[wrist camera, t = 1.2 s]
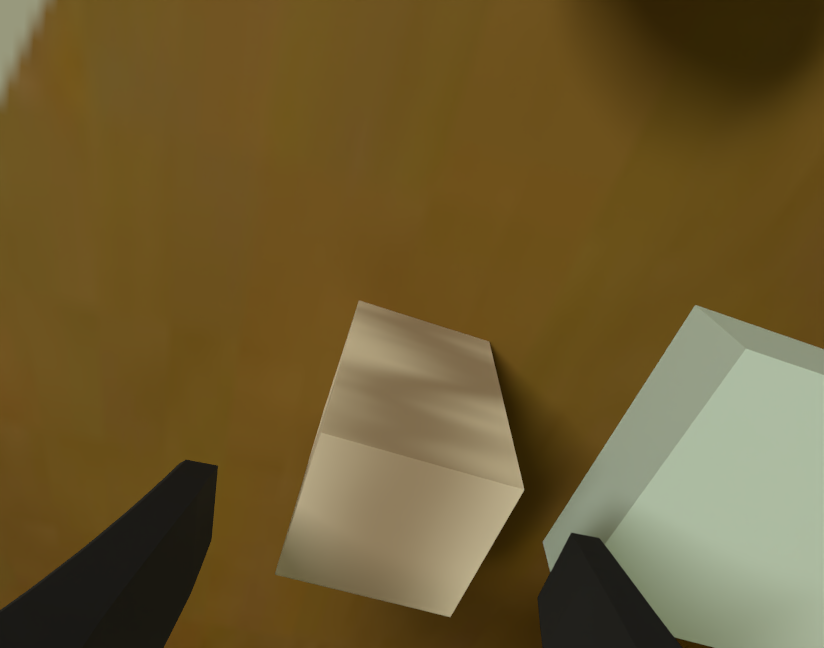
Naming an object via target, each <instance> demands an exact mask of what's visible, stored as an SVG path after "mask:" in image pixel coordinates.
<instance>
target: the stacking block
mask: <svg viewBox="0 0 824 648" xmlns="http://www.w3.org/2000/svg"><path fill="white" fill-rule="evenodd" d="M571 533H576V534H581V535H587V536H592V537H597V538H600V539H601V541H602V542H603V543H604V544H605V546H606V547H607V548H608V550H609V551H610V552H611V554H612V555H613V556H614V558H615V559H616V560H617V562H618V563H619V564H620V566H621V567H622V568H623V570H624V571H625V572H626V574H627V575H628V576H629V578H630V579H631V580H632V582H633V583H634V585H635V586H636V587H637V589H638V590H639V591H640V593H641V594H642V595H643V597H644V598H645V599H646V601H647V602H648V603H649V605H650V606H651V607H652V609H653V610H654V611H655V613H656V614H657V615H658V617H659V618H660V619H661V621H662V622H663V623H664V625H665V626H666V627H667V629H668V630H669V631H670V632H671V634H672V635H673V636H674V637H675V638H679V639H683V640H687V641H691V642H695V643H699V644H702V645H706V646H710V647H714V648H824V349H821V348H818V347H815V346H812V345H810V344H807V343H804V342H801V341H798V340H795V339H792V338H789V337H786V336H784V335H781V334H778V333H775V332H772V331H769V330H766V329H763V328H760V327H758V326H755V325H752V324H749V323H746V322H743V321H740V320H737V319H734V318H732V317H729V316H726V315H723V314H720V313H717V312H714V311H711V310H708V309H705V308H703V307H700V306H697V305H695V306H694V308H693V310H692V311H691V313H690V314H689V316H688V317H687V319H686V320H685V322H684V323H683V325H682V327H681V328H680V330H679V331H678V333H677V334H676V336H675V337H674V339H673V341H672V342H671V344H670V345H669V347H668V348H667V350H666V351H665V353H664V355H663V356H662V358H661V359H660V361H659V362H658V364H657V365H656V367H655V369H654V370H653V372H652V373H651V375H650V376H649V378H648V379H647V381H646V382H645V384H644V386H643V387H642V389H641V390H640V392H639V393H638V395H637V396H636V398H635V400H634V401H633V403H632V404H631V406H630V407H629V409H628V410H627V412H626V414H625V415H624V417H623V418H622V420H621V421H620V423H619V424H618V426H617V427H616V429H615V431H614V432H613V434H612V435H611V437H610V438H609V440H608V441H607V443H606V445H605V446H604V448H603V449H602V451H601V452H600V454H599V455H598V457H597V459H596V460H595V462H594V463H593V465H592V466H591V468H590V469H589V471H588V473H587V474H586V476H585V477H584V479H583V480H582V482H581V483H580V485H579V486H578V488H577V490H576V491H575V493H574V494H573V496H572V497H571V499H570V500H569V502H568V504H567V505H566V507H565V508H564V510H563V511H562V513H561V514H560V516H559V518H558V519H557V521H556V522H555V524H554V525H553V527H552V528H551V530H550V532H549V533H548V535H547V536H546V538H545V539H544V541H543V545H544V549H545V553H546V557H547V561H548V565H549V569H550V572H551V571H552V569H553V567H554V565H555V563H556V561H557V559H558V557H559V555H560V553H561V551H562V549H563V547H564V545H565V543H566V542H567V540H568V538H569V536H570V534H571Z"/></svg>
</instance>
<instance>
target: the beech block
mask: <svg viewBox="0 0 824 648" xmlns="http://www.w3.org/2000/svg"><path fill="white" fill-rule="evenodd" d="M523 491H524V486H523V482H522V478H521V473H520V469H519V465H518V461H517V456H516V452H515V448H514V444H513V440H512V435H511V431H510V427H509V423H508V419H507V414H506V410H505V406H504V402H503V397H502V393H501V389H500V385H499V381H498V376H497V372H496V368H495V364H494V360H493V355H492V351H491V347H490V343H489V341H485V340H482V339H479V338H476V337H473V336H470V335H466V334H463V333H460V332H457V331H454V330H451V329H448V328H444V327H441V326H438V325H435V324H432V323H429V322H425V321H422V320H419V319H416V318H413V317H410V316H406V315H403V314H400V313H397V312H394V311H391V310H387V309H384V308H381V307H378V306H375V305H372V304H369V303H365V302H362V301H359V302H358V305H357V308H356V312H355V315H354V318H353V321H352V324H351V327H350V330H349V333H348V337H347V340H346V343H345V346H344V349H343V352H342V355H341V358H340V361H339V365H338V368H337V371H336V374H335V377H334V380H333V383H332V386H331V390H330V393H329V396H328V399H327V402H326V405H325V408H324V412H323V415H322V418H321V422H320V425H319V428H318V432H317V435H316V438H315V442H314V445H313V448H312V452H311V455H310V458H309V462H308V465H307V468H306V472H305V475H304V478H303V482H302V485H301V489H300V492H299V495H298V499H297V502H296V505H295V509H294V512H293V515H292V519H291V522H290V525H289V529H288V532H287V535H286V539H285V542H284V545H283V549H282V552H281V555H280V559H279V562H278V565H277V569H276V572H275V574H276V575H280V576H284V577H288V578H292V579H296V580H300V581H304V582H308V583H312V584H317V585H321V586H325V587H329V588H333V589H337V590H341V591H345V592H349V593H353V594H358V595H362V596H366V597H370V598H374V599H378V600H382V601H386V602H390V603H394V604H399V605H403V606H407V607H411V608H415V609H419V610H423V611H427V612H431V613H436V614H440V615H444V616H448V617H451V615H452V613H453V612H454V610H455V608H456V606H457V605H458V603H459V601H460V600H461V598H462V596H463V594H464V593H465V591H466V589H467V588H468V586H469V584H470V582H471V581H472V579H473V577H474V576H475V574H476V572H477V570H478V569H479V567H480V565H481V563H482V562H483V560H484V558H485V557H486V555H487V553H488V551H489V550H490V548H491V546H492V545H493V543H494V541H495V539H496V538H497V536H498V534H499V533H500V531H501V529H502V527H503V526H504V524H505V522H506V521H507V519H508V517H509V515H510V514H511V512H512V510H513V508H514V507H515V505H516V503H517V502H518V500H519V498H520V496H521V495H522V493H523Z"/></svg>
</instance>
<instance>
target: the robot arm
mask: <svg viewBox="0 0 824 648" xmlns="http://www.w3.org/2000/svg"><path fill="white" fill-rule="evenodd" d="M217 469H218V466H216V465H211V464H206V463H201V462H195V461H190V460H185V461H183V462H181V463H180V464H179V465H178V466H176V467H175V468H174V469H173V470H172V471H171V472H170V473H169V474H168V475H167V476H166V477H165V478H164V479H163V480H162V481H161V482H159V483H158V484H157V485H156V486H155V487H154V488H153V489H152V490H151V491H150V492H149V493H147V494H146V495H145V496H144V497H143V498H142V499H141V500H140V501H138V502H137V503H136V504H135V505H134V506H133V507H132V508H130V509H129V510H128V511H127V512H126V513H125V514H124V515H122V516H121V517H120V518H119V519H118V520H116V521H115V522H114V523H113V524H112V525H110V526H109V527H108V528H107V529H106V530H104V531H103V532H102V533H101V534H100V535H98V536H97V537H96V538H95V539H94V540H92V541H91V542H90V543H89V544H88V545H86V546H85V547H84V548H83V549H81V550H80V551H79V552H78V553H76V554H75V555H74V556H72V557H71V558H70V559H68V560H67V561H66V562H65V563H63V564H62V565H61V566H59V567H58V568H57V569H55V570H54V571H53V572H52V573H50V574H49V575H48V576H46V577H45V578H44V579H42V580H41V581H40V582H38V583H37V584H36V585H35V586H33V587H32V588H30V589H29V590H28V591H26V592H25V593H24V594H22V595H21V596H19V597H18V598H17V599H15V600H14V601H13V602H11V603H10V604H8V605H7V606H6V607H4V608H3V609H1V610H0V648H164V646H165V644H166V642H167V640H168V638H169V636H170V634H171V632H172V630H173V628H174V626H175V624H176V622H177V620H178V618H179V616H180V614H181V612H182V610H183V608H184V606H185V604H186V602H187V600H188V598H189V596H190V594H191V591H192V589H193V586H194V584H195V581H196V579H197V576H198V574H199V571H200V568H201V566H202V563H203V561H204V558H205V555H206V553H207V550H208V547H209V545H210V542H211V538H212V527H213V515H214V504H215V492H216V481H217ZM538 607H539V618H540V629H541V637H542V646H543V648H682V647H681V645H680V644H679V643H678V642H677V640H676V639H675V638H674V636H673V635H672V634H671V632H670V631H669V630H668V629H667V627H666V626H665V625H664V623H663V622H662V621H661V619H660V618H659V617H658V615H657V614H656V613H655V611H654V610H653V609H652V607H651V606H650V605H649V603H648V602H647V601H646V599H645V598H644V597H643V595H642V594H641V593H640V591H639V590H638V589H637V587H636V586H635V585H634V583H633V582H632V580H631V579H630V578H629V576H628V575H627V574H626V572H625V571H624V570H623V568H622V567H621V566H620V564H619V563H618V562H617V560H616V559H615V558H614V556H613V555H612V554H611V552H610V551H609V550H608V548H607V547H606V546H605V544H604V543H603V542H602V541H601V539H600V538H597V537H592V536H587V535H581V534H576V533H571V534H570V536H569V538H568V540H567V542H566V543H565V545H564V547H563V549H562V551H561V553H560V555H559V557H558V559H557V561H556V563H555V565H554V567H553V569H552V571H551V572H550V574H549V576H548V578H547V580H546V582H545V584H544V586H543V588H542V590H541V592H540V594H539V596H538Z"/></svg>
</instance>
